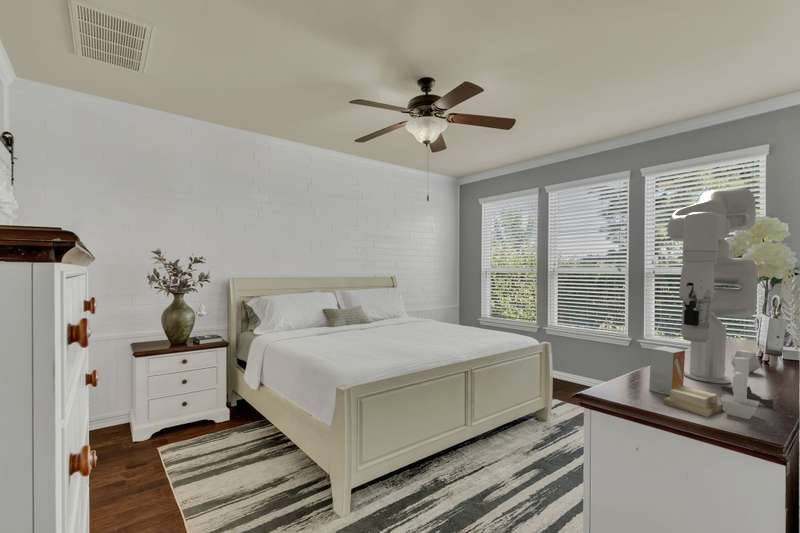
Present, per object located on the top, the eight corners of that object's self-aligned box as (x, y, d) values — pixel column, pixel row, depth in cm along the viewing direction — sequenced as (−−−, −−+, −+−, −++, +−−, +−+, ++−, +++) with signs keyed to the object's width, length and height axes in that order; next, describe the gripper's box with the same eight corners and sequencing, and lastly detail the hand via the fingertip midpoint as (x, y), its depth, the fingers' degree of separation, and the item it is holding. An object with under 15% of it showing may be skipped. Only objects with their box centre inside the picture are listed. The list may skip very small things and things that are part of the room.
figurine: (718, 414, 101) (721, 357, 101) (724, 406, 107) (726, 352, 107) (756, 423, 96) (759, 363, 95) (759, 414, 102) (762, 357, 102)
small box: (671, 396, 114) (673, 352, 114) (648, 390, 119) (650, 348, 119) (683, 392, 119) (685, 349, 118) (660, 386, 124) (662, 345, 124)
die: (737, 369, 151) (722, 349, 151) (764, 362, 145) (749, 341, 146) (740, 381, 145) (724, 360, 145) (768, 375, 139) (752, 352, 139)
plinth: (680, 398, 113) (681, 384, 113) (722, 409, 105) (723, 395, 105) (663, 403, 108) (664, 389, 108) (707, 416, 99) (707, 401, 99)
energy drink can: (698, 338, 109) (701, 285, 109) (714, 343, 103) (716, 286, 103) (676, 337, 109) (678, 284, 109) (690, 342, 103) (692, 286, 103)
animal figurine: (772, 410, 109) (777, 394, 108) (771, 414, 106) (776, 397, 105) (720, 392, 117) (724, 376, 117) (717, 395, 114) (722, 379, 114)
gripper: (697, 259, 113) (694, 320, 114) (668, 257, 104) (666, 324, 104) (729, 259, 107) (726, 324, 107) (702, 257, 98) (699, 328, 98)
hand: (696, 323), depth 106 cm, fingers closed on energy drink can, 6 cm apart
